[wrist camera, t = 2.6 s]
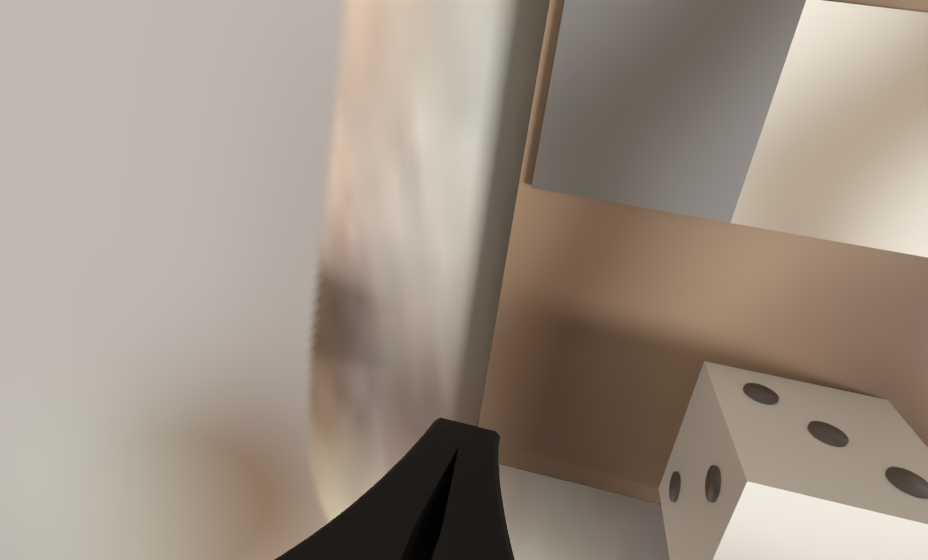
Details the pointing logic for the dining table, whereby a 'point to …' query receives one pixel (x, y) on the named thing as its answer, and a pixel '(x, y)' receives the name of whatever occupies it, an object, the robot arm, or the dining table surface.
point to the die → (792, 474)
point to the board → (710, 223)
